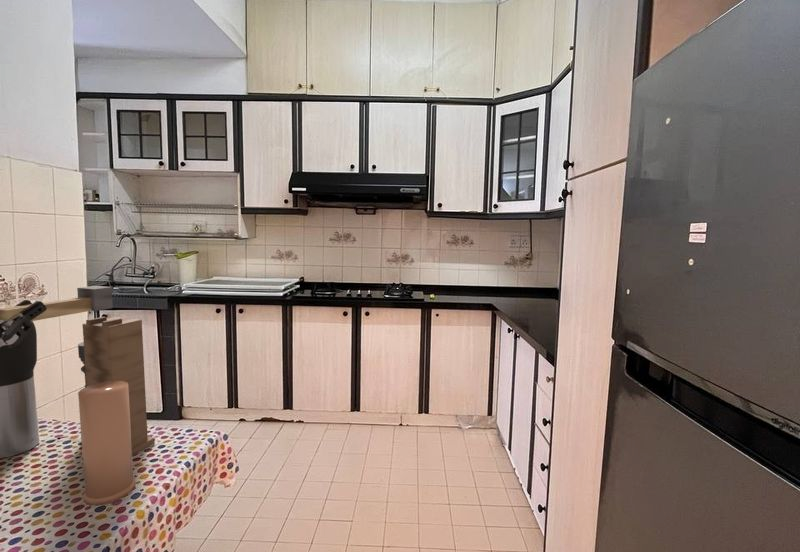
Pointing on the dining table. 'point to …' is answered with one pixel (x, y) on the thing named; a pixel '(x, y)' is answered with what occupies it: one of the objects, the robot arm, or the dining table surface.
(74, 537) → the dining table surface
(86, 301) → the mallet
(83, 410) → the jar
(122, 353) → the stand
